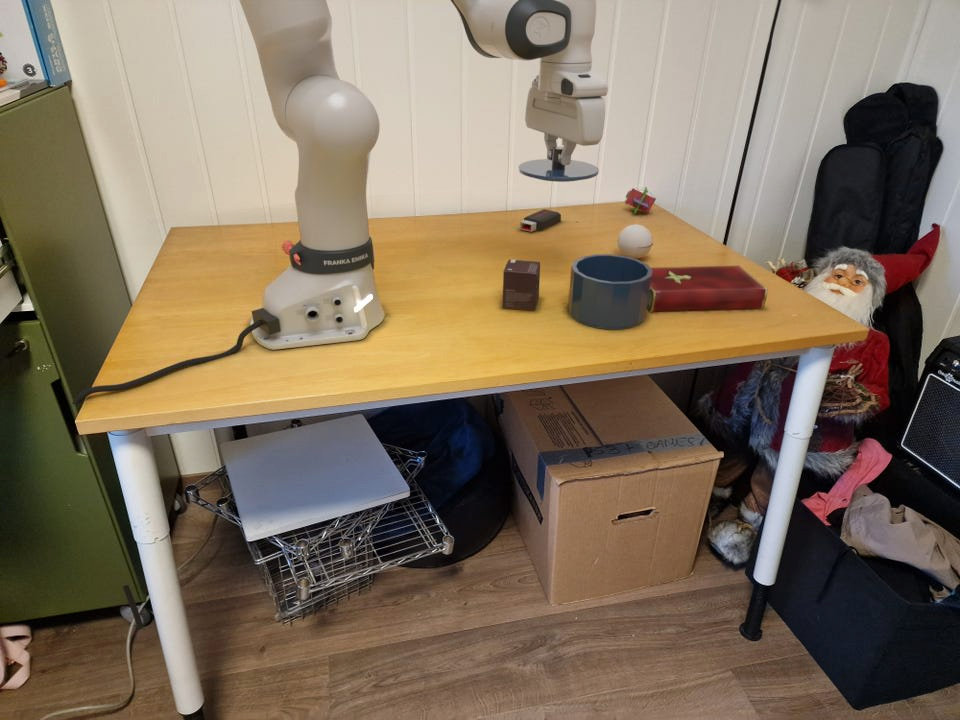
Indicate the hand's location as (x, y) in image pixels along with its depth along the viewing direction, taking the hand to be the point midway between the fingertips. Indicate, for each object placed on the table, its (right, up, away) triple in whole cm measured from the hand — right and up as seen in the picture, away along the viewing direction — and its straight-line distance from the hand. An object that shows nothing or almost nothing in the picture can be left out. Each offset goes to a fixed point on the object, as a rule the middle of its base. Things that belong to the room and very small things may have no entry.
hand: (558, 162), depth 118 cm
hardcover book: (+26, -25, +4) cm, 36 cm away
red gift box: (+27, +2, +51) cm, 58 cm away
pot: (+8, -28, -2) cm, 29 cm away
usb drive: (0, -3, +41) cm, 41 cm away
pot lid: (0, -1, +1) cm, 2 cm away
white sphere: (+20, -14, +23) cm, 33 cm away
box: (-7, -26, +1) cm, 27 cm away
